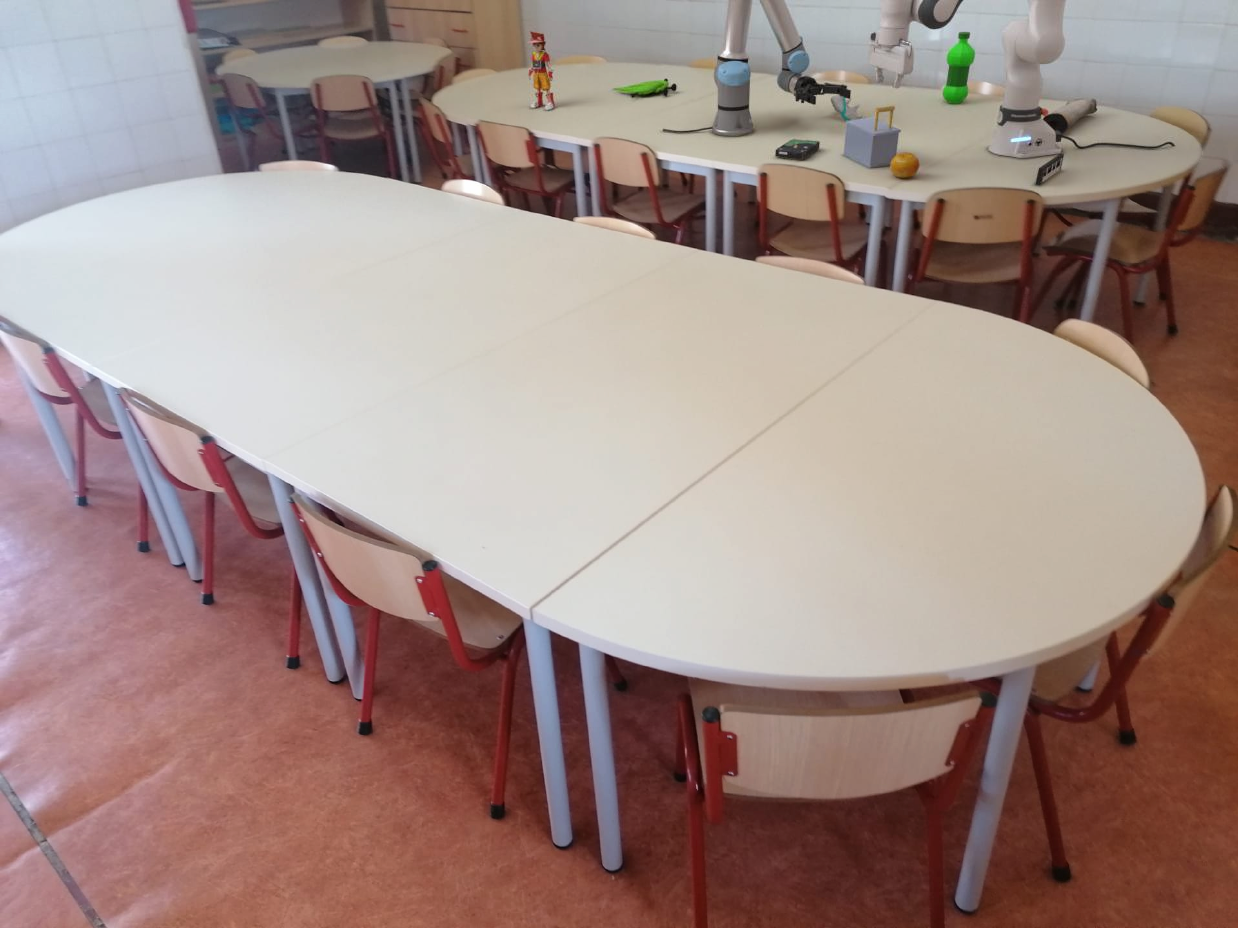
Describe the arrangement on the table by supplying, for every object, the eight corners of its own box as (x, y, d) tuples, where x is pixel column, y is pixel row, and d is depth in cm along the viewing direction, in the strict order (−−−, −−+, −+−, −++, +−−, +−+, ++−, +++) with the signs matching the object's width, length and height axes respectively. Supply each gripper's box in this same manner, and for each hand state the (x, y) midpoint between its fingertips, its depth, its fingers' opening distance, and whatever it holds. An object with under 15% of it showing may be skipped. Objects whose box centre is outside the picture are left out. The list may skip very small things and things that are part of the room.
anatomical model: (825, 90, 346) (851, 83, 346) (828, 117, 352) (853, 110, 352) (836, 99, 334) (863, 92, 333) (839, 127, 340) (865, 120, 339)
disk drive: (803, 161, 302) (819, 149, 312) (803, 153, 300) (820, 140, 310) (774, 158, 306) (791, 146, 316) (775, 149, 305) (792, 137, 315)
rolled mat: (1064, 103, 333) (1089, 85, 324) (1077, 124, 333) (1102, 107, 325) (1032, 125, 315) (1057, 107, 307) (1046, 147, 316) (1072, 129, 307)
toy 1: (525, 109, 381) (517, 32, 364) (534, 104, 388) (527, 28, 371) (550, 110, 377) (543, 32, 360) (559, 105, 384) (553, 28, 367)
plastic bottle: (973, 101, 354) (984, 32, 339) (955, 106, 349) (966, 36, 335) (952, 97, 361) (962, 29, 346) (934, 102, 356) (944, 33, 342)
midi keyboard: (1039, 185, 269) (1043, 168, 266) (1035, 184, 270) (1038, 168, 267) (1060, 170, 279) (1064, 154, 277) (1056, 169, 280) (1060, 153, 277)
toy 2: (686, 85, 398) (631, 84, 414) (685, 72, 395) (629, 72, 411) (651, 104, 381) (596, 103, 397) (650, 92, 378) (594, 91, 394)
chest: (895, 164, 294) (899, 132, 288) (869, 168, 292) (873, 135, 286) (867, 151, 307) (871, 120, 302) (843, 155, 305) (846, 123, 299)
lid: (900, 132, 287) (903, 107, 283) (874, 136, 285) (877, 111, 281) (871, 120, 301) (873, 96, 297) (846, 123, 299) (848, 99, 295)
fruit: (884, 168, 279) (900, 145, 276) (886, 170, 287) (902, 148, 284) (906, 183, 278) (923, 160, 275) (908, 185, 286) (924, 162, 283)
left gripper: (833, 92, 336) (863, 103, 319) (772, 102, 331) (799, 114, 314) (834, 70, 332) (864, 81, 315) (773, 81, 326) (800, 92, 310)
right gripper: (921, 41, 265) (915, 90, 273) (884, 31, 282) (879, 78, 290) (903, 43, 264) (897, 93, 272) (866, 33, 280) (862, 80, 288)
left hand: (832, 97), depth 314 cm, fingers open, 13 cm apart
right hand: (887, 85), depth 281 cm, fingers open, 8 cm apart
